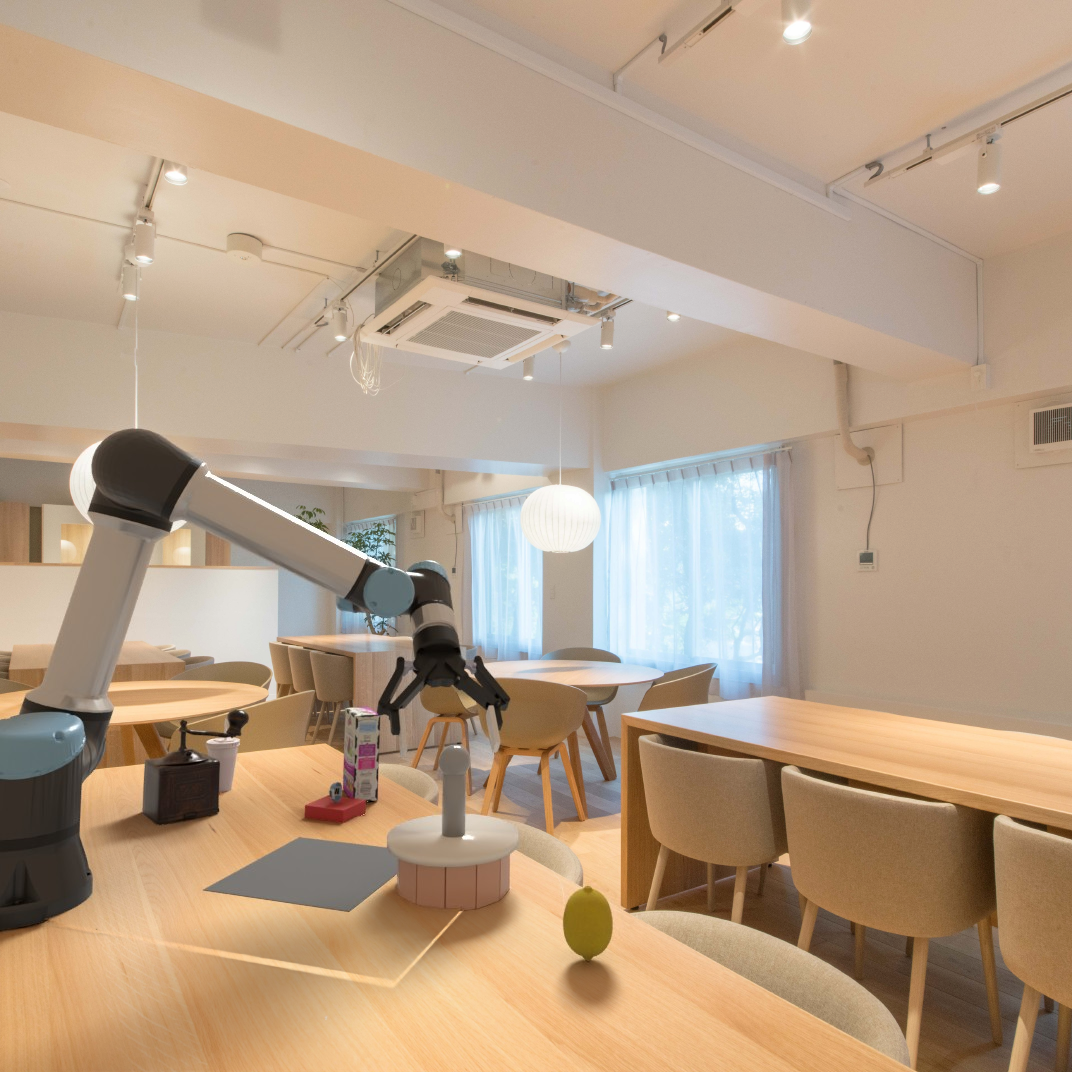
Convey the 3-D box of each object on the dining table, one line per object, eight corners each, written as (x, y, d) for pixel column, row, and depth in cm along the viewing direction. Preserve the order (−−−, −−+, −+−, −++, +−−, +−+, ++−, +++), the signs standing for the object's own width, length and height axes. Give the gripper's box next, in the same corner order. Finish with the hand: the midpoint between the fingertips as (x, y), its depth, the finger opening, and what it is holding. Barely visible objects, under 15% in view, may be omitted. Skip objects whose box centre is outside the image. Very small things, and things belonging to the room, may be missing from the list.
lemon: (554, 965, 83) (554, 890, 83) (575, 944, 88) (575, 873, 88) (601, 978, 80) (601, 900, 81) (620, 955, 85) (620, 882, 85)
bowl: (485, 917, 94) (486, 868, 95) (377, 902, 98) (378, 855, 99) (521, 873, 109) (522, 831, 109) (426, 862, 113) (426, 821, 113)
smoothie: (226, 794, 147) (228, 722, 148) (196, 792, 149) (199, 720, 149) (245, 786, 154) (247, 716, 154) (216, 784, 155) (219, 715, 156)
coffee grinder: (158, 827, 128) (162, 719, 129) (140, 812, 136) (144, 711, 137) (250, 809, 138) (253, 709, 139) (228, 796, 146) (231, 702, 148)
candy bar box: (379, 801, 144) (381, 714, 145) (353, 804, 142) (355, 716, 143) (366, 787, 154) (368, 705, 155) (341, 789, 152) (343, 707, 153)
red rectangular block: (304, 821, 132) (305, 784, 133) (328, 810, 139) (329, 775, 139) (343, 827, 129) (343, 789, 130) (365, 815, 136) (366, 780, 136)
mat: (349, 915, 95) (349, 911, 95) (202, 893, 101) (202, 889, 101) (424, 855, 116) (424, 851, 116) (299, 840, 122) (299, 837, 122)
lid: (492, 874, 93) (494, 764, 94) (361, 857, 98) (364, 754, 99) (534, 828, 110) (535, 736, 111) (421, 817, 115) (423, 729, 116)
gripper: (503, 651, 131) (527, 759, 116) (356, 653, 123) (361, 769, 108) (512, 622, 126) (538, 731, 111) (359, 622, 119) (365, 739, 104)
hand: (451, 750), depth 110 cm, fingers open, 13 cm apart
